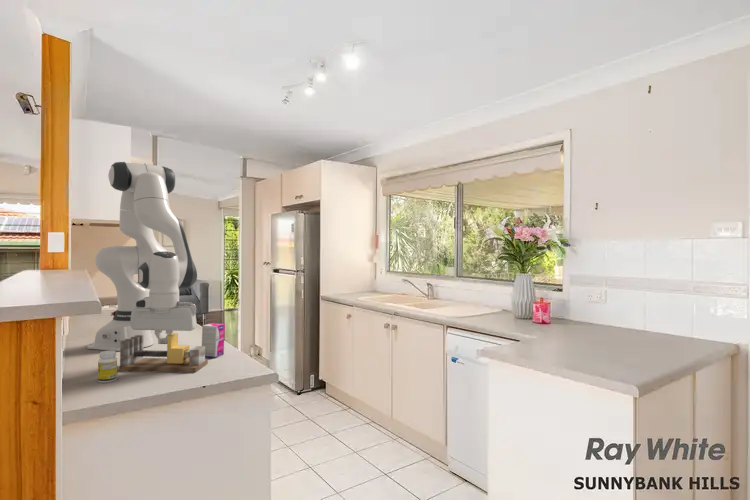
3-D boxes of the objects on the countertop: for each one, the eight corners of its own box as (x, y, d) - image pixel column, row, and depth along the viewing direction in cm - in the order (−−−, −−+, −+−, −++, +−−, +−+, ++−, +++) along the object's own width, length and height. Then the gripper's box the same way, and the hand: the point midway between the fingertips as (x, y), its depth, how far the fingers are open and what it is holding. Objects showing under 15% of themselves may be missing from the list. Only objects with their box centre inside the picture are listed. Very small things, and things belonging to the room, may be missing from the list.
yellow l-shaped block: (166, 363, 136) (167, 335, 136) (173, 359, 140) (174, 332, 140) (182, 363, 136) (183, 336, 136) (189, 359, 140) (189, 333, 140)
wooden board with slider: (119, 371, 133) (119, 341, 133) (136, 362, 143) (137, 334, 143) (195, 372, 133) (195, 342, 133) (207, 363, 143) (208, 335, 143)
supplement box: (215, 358, 150) (216, 326, 150) (200, 357, 151) (201, 325, 151) (224, 354, 155) (225, 323, 155) (210, 353, 157) (210, 322, 156)
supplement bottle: (100, 378, 125) (100, 350, 125) (118, 377, 127) (119, 349, 127) (96, 383, 121) (96, 354, 121) (115, 382, 123) (115, 353, 122)
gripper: (200, 300, 141) (199, 342, 141) (138, 299, 141) (138, 341, 141) (192, 303, 135) (191, 346, 135) (127, 302, 134) (127, 345, 135)
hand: (163, 343), depth 138 cm, fingers closed
